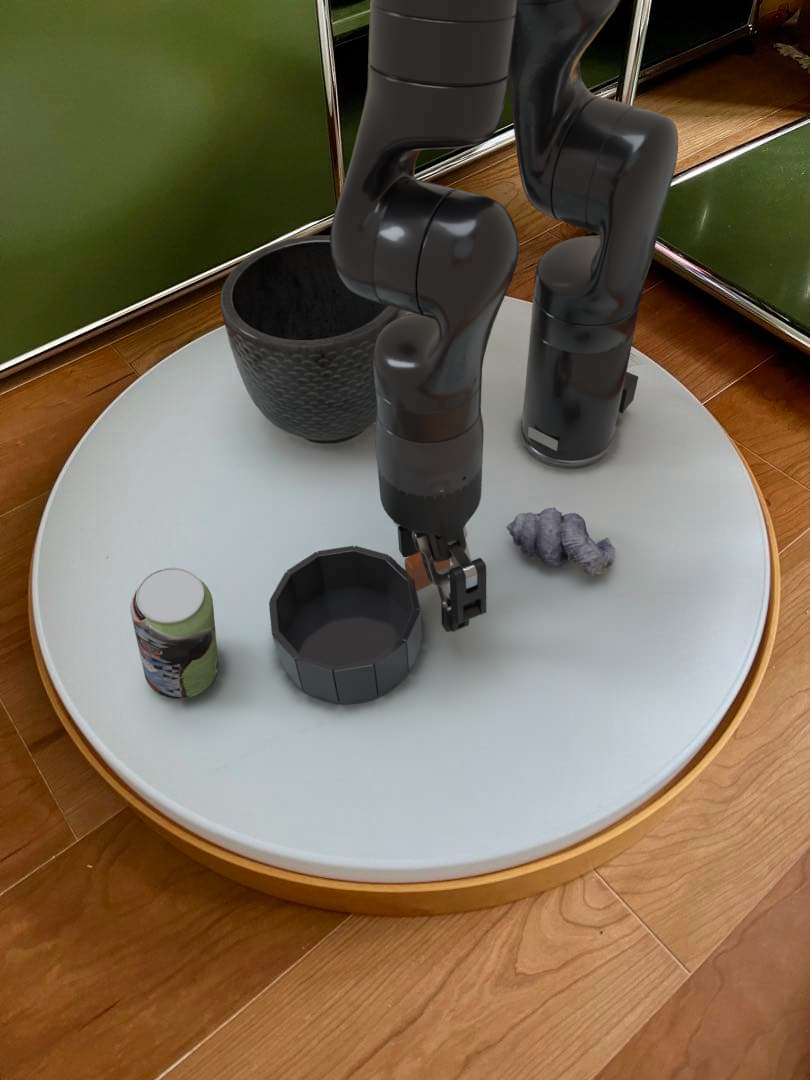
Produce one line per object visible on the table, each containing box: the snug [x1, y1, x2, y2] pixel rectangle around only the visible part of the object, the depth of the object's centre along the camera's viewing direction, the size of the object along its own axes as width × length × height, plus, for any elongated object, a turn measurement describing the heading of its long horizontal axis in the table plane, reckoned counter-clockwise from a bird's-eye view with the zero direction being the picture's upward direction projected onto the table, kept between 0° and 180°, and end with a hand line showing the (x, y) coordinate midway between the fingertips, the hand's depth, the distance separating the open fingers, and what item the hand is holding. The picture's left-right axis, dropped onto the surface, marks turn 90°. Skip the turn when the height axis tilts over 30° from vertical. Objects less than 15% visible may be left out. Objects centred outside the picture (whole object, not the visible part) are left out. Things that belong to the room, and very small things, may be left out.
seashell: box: [505, 506, 616, 577], centre depth 80 cm, size 5×5×10 cm
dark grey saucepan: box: [268, 545, 451, 705], centre depth 75 cm, size 16×12×7 cm
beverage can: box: [130, 567, 219, 700], centre depth 71 cm, size 6×7×12 cm
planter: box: [220, 235, 408, 445], centre depth 88 cm, size 17×17×16 cm
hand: (433, 587), depth 76 cm, fingers open, 8 cm apart
